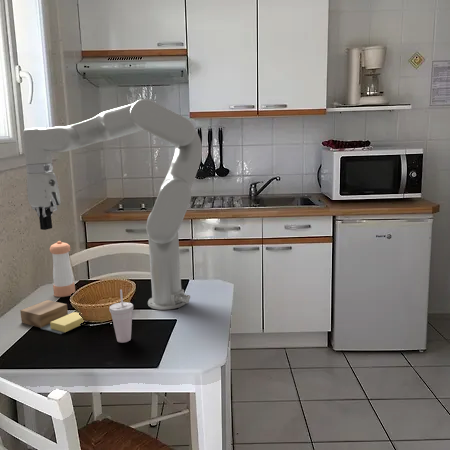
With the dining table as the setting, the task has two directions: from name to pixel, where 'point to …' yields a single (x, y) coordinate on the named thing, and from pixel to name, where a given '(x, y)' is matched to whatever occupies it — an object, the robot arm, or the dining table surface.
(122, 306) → the smoothie
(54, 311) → the block
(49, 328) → the mat
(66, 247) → the pepper shaker
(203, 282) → the dining table surface
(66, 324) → the pale yellow block
